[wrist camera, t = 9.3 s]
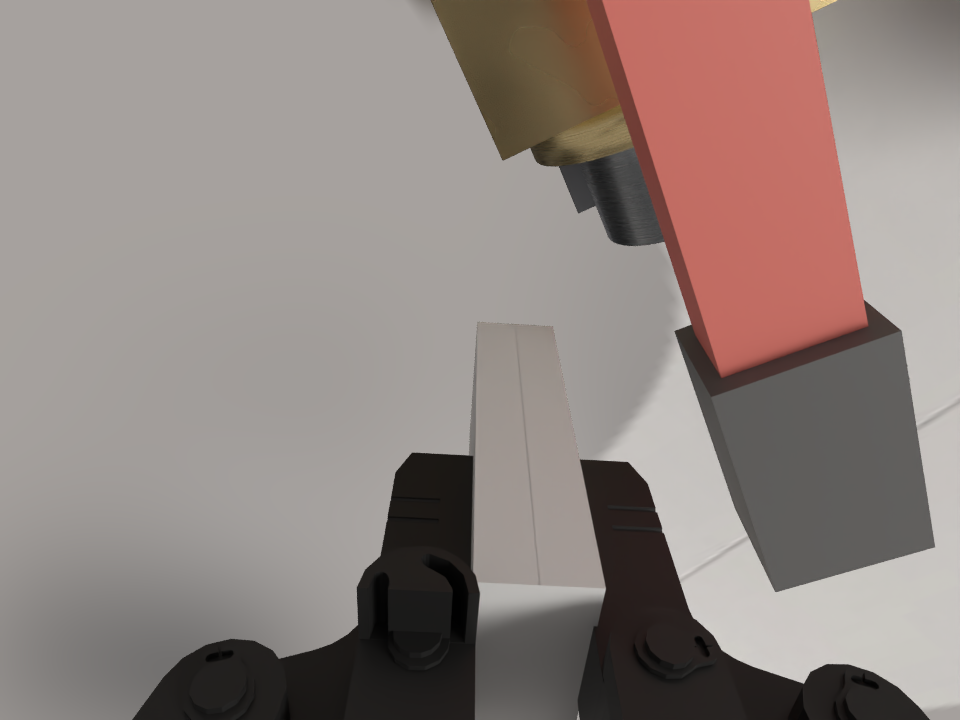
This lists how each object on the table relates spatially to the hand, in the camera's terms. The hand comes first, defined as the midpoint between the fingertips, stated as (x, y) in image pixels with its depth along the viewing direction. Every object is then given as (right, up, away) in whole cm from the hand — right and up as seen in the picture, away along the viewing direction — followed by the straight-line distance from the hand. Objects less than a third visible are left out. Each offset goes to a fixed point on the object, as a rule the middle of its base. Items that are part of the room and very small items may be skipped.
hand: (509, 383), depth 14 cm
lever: (+4, +4, -2) cm, 5 cm away
